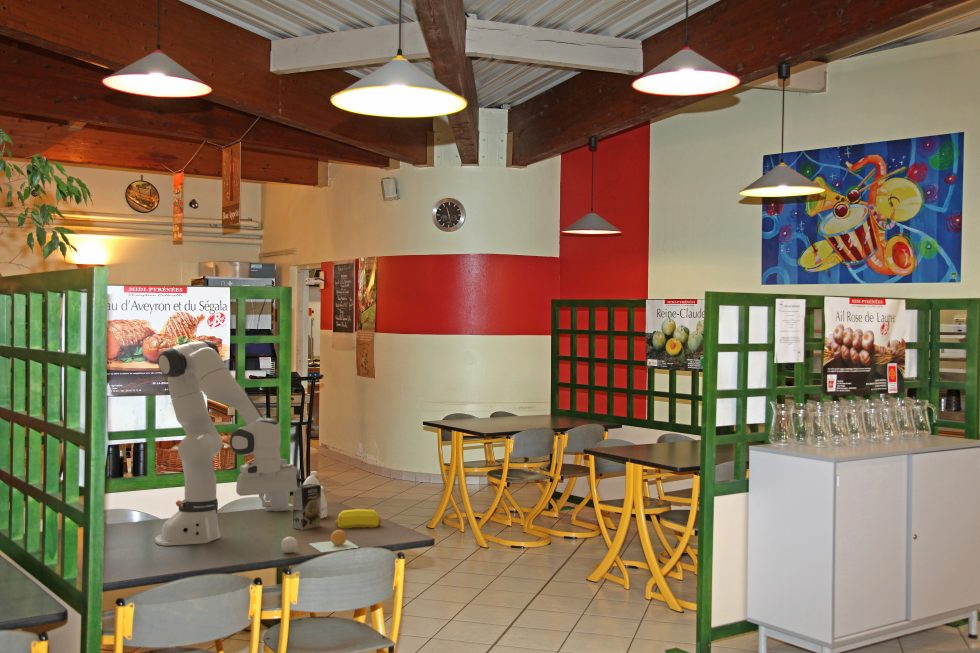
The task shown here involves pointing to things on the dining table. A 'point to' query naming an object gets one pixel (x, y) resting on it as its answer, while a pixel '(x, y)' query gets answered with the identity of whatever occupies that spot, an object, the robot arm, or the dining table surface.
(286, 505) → the tall pale column
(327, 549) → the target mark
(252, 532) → the dining table surface
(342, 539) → the object ball
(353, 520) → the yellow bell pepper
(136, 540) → the dining table surface
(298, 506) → the coffee box
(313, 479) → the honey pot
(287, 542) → the cue ball
